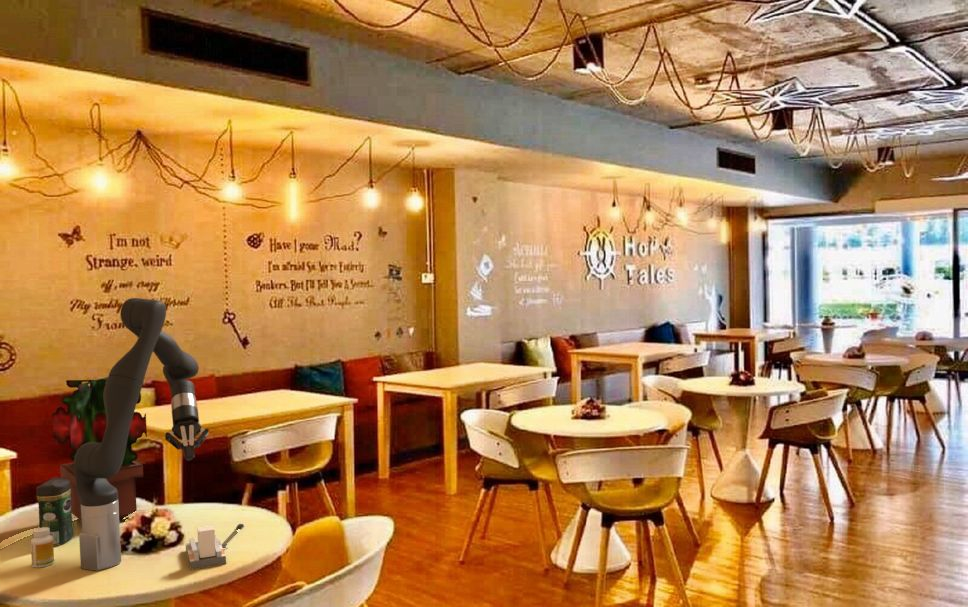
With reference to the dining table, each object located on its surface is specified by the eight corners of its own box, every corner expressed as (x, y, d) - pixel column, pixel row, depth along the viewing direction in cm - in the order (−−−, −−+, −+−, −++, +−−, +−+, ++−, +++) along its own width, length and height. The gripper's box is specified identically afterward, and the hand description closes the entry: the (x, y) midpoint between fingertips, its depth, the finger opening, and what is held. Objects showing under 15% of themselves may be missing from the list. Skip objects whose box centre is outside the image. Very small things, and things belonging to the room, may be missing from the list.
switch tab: (198, 553, 220) (197, 527, 220) (213, 550, 222) (212, 525, 222) (199, 558, 217) (198, 531, 216) (215, 555, 218) (214, 529, 218)
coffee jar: (51, 536, 245) (47, 476, 244) (77, 535, 245) (74, 475, 244) (34, 548, 235) (31, 484, 234) (62, 547, 235) (58, 483, 234)
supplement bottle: (59, 561, 223) (57, 527, 223) (42, 568, 218) (40, 533, 218) (43, 559, 225) (42, 525, 225) (27, 566, 220) (25, 531, 219)
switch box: (185, 550, 229) (185, 538, 229) (219, 545, 233) (218, 533, 233) (190, 569, 215) (190, 556, 215) (226, 563, 219) (225, 551, 218)
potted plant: (129, 504, 277) (122, 373, 274) (150, 518, 260) (144, 379, 257) (57, 518, 262) (50, 380, 260) (75, 535, 246) (67, 387, 243)
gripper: (161, 406, 244) (165, 454, 234) (207, 401, 249) (213, 449, 239) (161, 420, 249) (165, 468, 239) (207, 416, 255) (212, 463, 244)
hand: (189, 458), depth 239 cm, fingers closed
